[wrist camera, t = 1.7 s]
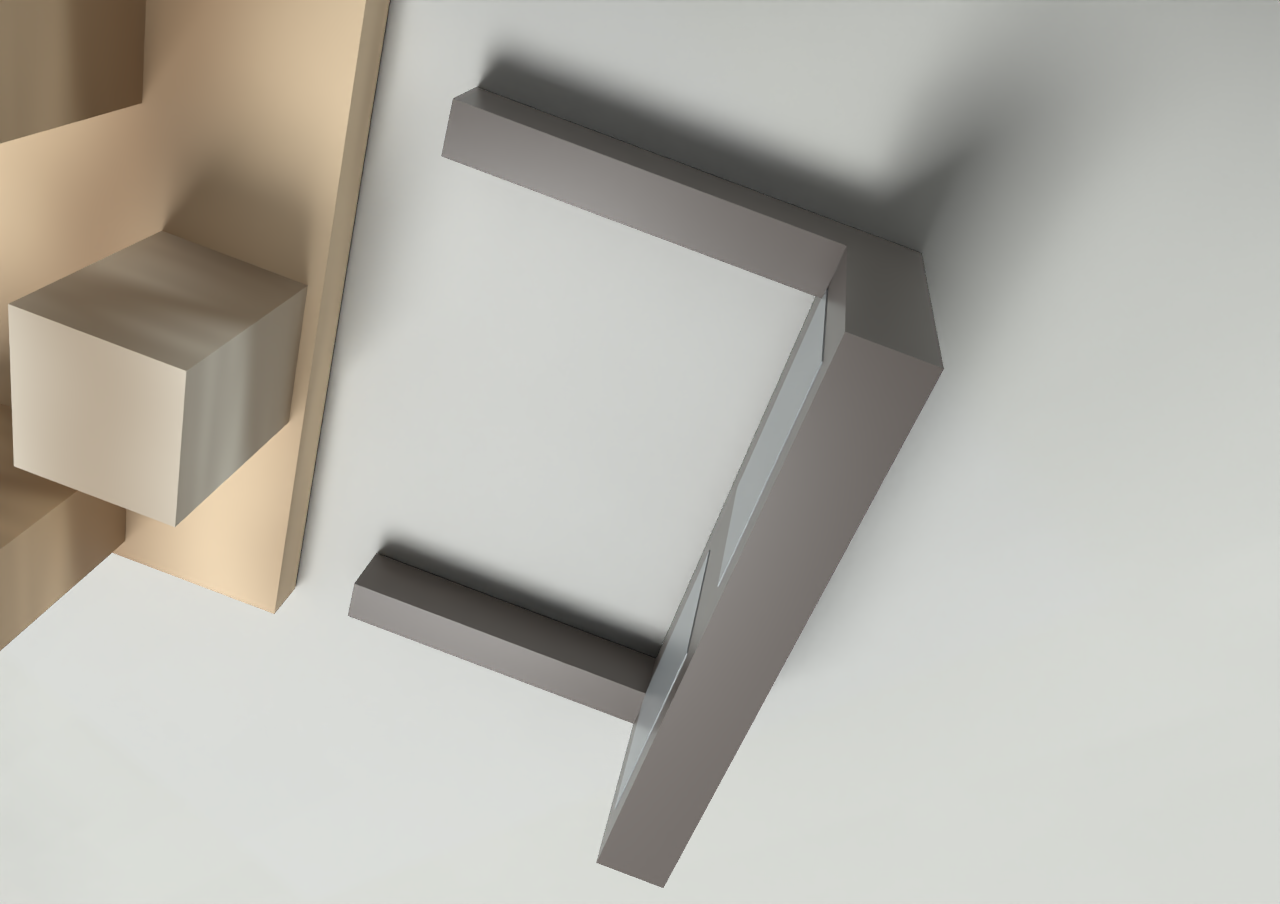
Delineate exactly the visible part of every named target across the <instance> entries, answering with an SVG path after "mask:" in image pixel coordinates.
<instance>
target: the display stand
mask: <svg viewBox="0 0 1280 904" xmlns="http://www.w3.org/2000/svg"><path fill="white" fill-rule="evenodd" d="M389 2H390V0H0V651H1V650H2V649H3V648H4V647H5V646H6V645H7V644H9V643H10V642H11V641H12V640H13V639H14V638H15V637H17V636H18V635H19V634H20V633H21V632H22V631H23V630H24V629H26V628H27V627H28V626H29V625H30V624H31V623H32V622H34V621H35V620H36V619H37V618H38V617H39V616H40V615H42V614H43V613H44V612H45V611H46V610H47V609H48V608H50V607H51V606H52V605H53V604H54V603H55V602H56V601H58V600H59V599H60V598H61V597H62V596H63V595H64V594H65V593H67V592H68V591H69V590H70V589H71V588H72V587H73V586H75V585H76V584H77V583H78V582H79V581H80V580H81V579H83V578H84V577H85V576H86V575H87V574H88V573H89V572H91V571H92V570H93V569H94V568H95V567H96V566H97V565H99V564H100V563H101V562H102V561H103V560H104V559H105V558H106V557H108V556H109V555H110V554H111V553H115V554H118V555H120V556H123V557H125V558H128V559H131V560H133V561H136V562H139V563H141V564H144V565H147V566H149V567H152V568H154V569H157V570H160V571H162V572H165V573H168V574H170V575H173V576H176V577H178V578H181V579H184V580H186V581H189V582H191V583H194V584H197V585H199V586H202V587H205V588H207V589H210V590H213V591H215V592H218V593H221V594H223V595H226V596H228V597H231V598H234V599H236V600H239V601H242V602H244V603H247V604H250V605H252V606H255V607H257V608H260V609H263V610H265V611H268V612H271V613H273V614H275V612H276V611H277V610H278V609H279V607H280V606H281V605H282V604H283V603H284V601H285V600H286V599H287V598H288V596H289V595H290V594H291V593H292V591H293V590H294V589H295V585H296V579H297V572H298V566H299V560H300V554H301V548H302V542H303V535H304V529H305V523H306V517H307V511H308V504H309V498H310V492H311V486H312V480H313V473H314V467H315V461H316V455H317V449H318V442H319V436H320V430H321V424H322V418H323V411H324V405H325V399H326V393H327V387H328V380H329V374H330V368H331V362H332V356H333V349H334V343H335V337H336V331H337V325H338V318H339V312H340V306H341V300H342V294H343V287H344V281H345V275H346V269H347V263H348V257H349V250H350V244H351V238H352V232H353V226H354V219H355V213H356V207H357V201H358V195H359V188H360V182H361V176H362V170H363V164H364V157H365V151H366V145H367V139H368V133H369V126H370V120H371V114H372V108H373V102H374V95H375V89H376V83H377V77H378V71H379V64H380V58H381V52H382V46H383V40H384V33H385V27H386V21H387V15H388V9H389Z"/></svg>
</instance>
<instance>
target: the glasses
mask: <svg viewBox="0 0 1280 904" xmlns="http://www.w3.org/2000/svg"><path fill="white" fill-rule="evenodd" d="M441 156H442V157H445V158H448V159H450V160H453V161H456V162H458V163H461V164H464V165H466V166H469V167H472V168H474V169H477V170H480V171H483V172H485V173H488V174H491V175H493V176H496V177H499V178H501V179H504V180H507V181H509V182H512V183H515V184H517V185H520V186H523V187H525V188H528V189H531V190H533V191H536V192H539V193H541V194H544V195H547V196H549V197H552V198H555V199H557V200H560V201H563V202H565V203H568V204H571V205H573V206H576V207H579V208H581V209H584V210H587V211H589V212H592V213H595V214H597V215H600V216H603V217H605V218H608V219H611V220H613V221H616V222H619V223H621V224H624V225H627V226H629V227H632V228H635V229H637V230H640V231H643V232H645V233H648V234H651V235H653V236H656V237H659V238H661V239H664V240H667V241H669V242H672V243H675V244H677V245H680V246H683V247H685V248H688V249H691V250H693V251H696V252H699V253H701V254H704V255H707V256H710V257H712V258H715V259H718V260H720V261H723V262H726V263H728V264H731V265H734V266H736V267H739V268H742V269H744V270H747V271H750V272H752V273H755V274H758V275H760V276H763V277H766V278H768V279H771V280H774V281H776V282H779V283H782V284H784V285H787V286H790V287H792V288H795V289H798V290H800V291H803V292H806V293H808V294H811V295H814V296H816V297H815V300H814V302H813V304H812V306H811V309H810V311H809V313H808V315H807V318H806V320H805V322H804V325H803V327H802V329H801V331H800V334H799V336H798V338H797V340H796V343H795V345H794V347H793V349H792V352H791V354H790V356H789V358H788V361H787V363H786V365H785V368H784V370H783V372H782V374H781V377H780V379H779V381H778V383H777V386H776V388H775V390H774V392H773V395H772V397H771V399H770V402H769V404H768V406H767V408H766V411H765V413H764V415H763V417H762V420H761V422H760V424H759V426H758V429H757V431H756V433H755V436H754V438H753V440H752V442H751V445H750V447H749V449H748V451H747V454H746V456H745V458H744V460H743V463H742V465H741V467H740V469H739V472H738V474H737V476H736V479H735V481H734V483H733V485H732V488H731V490H730V492H729V494H728V497H727V499H726V501H725V503H724V506H723V508H722V510H721V513H720V515H719V517H718V519H717V522H716V524H715V526H714V528H713V531H712V533H711V535H710V537H709V540H708V542H707V544H706V547H705V549H704V551H703V553H702V556H701V558H700V560H699V562H698V565H697V567H696V569H695V571H694V574H693V576H692V578H691V580H690V583H689V585H688V587H687V590H686V592H685V594H684V596H683V599H682V601H681V603H680V605H679V608H678V610H677V612H676V614H675V617H674V619H673V621H672V624H671V626H670V628H669V630H668V633H667V635H666V637H665V639H664V642H663V644H662V646H661V648H660V651H659V653H658V655H657V657H656V658H653V657H650V656H648V655H645V654H642V653H640V652H637V651H634V650H632V649H629V648H627V647H624V646H621V645H619V644H616V643H613V642H611V641H608V640H605V639H603V638H600V637H597V636H595V635H592V634H589V633H587V632H584V631H581V630H579V629H576V628H574V627H571V626H568V625H566V624H563V623H560V622H558V621H555V620H552V619H550V618H547V617H544V616H542V615H539V614H536V613H534V612H531V611H528V610H526V609H523V608H520V607H518V606H515V605H513V604H510V603H507V602H505V601H502V600H499V599H497V598H494V597H491V596H489V595H486V594H483V593H481V592H478V591H475V590H473V589H470V588H467V587H465V586H462V585H460V584H457V583H454V582H452V581H449V580H446V579H444V578H441V577H438V576H436V575H433V574H430V573H428V572H425V571H422V570H420V569H417V568H414V567H412V566H409V565H407V564H404V563H401V562H399V561H396V560H393V559H391V558H388V557H385V556H383V555H380V554H377V553H376V555H375V556H374V558H373V559H372V560H371V562H370V563H369V564H368V566H367V567H366V568H365V570H364V571H363V573H362V574H361V575H360V577H359V578H358V579H357V581H356V582H355V584H354V588H353V593H352V598H351V603H350V608H349V613H348V616H350V617H353V618H355V619H358V620H361V621H363V622H366V623H369V624H371V625H374V626H376V627H379V628H382V629H384V630H387V631H390V632H392V633H395V634H398V635H400V636H403V637H406V638H408V639H411V640H414V641H416V642H419V643H422V644H424V645H427V646H429V647H432V648H435V649H437V650H440V651H443V652H445V653H448V654H451V655H453V656H456V657H459V658H461V659H464V660H467V661H469V662H472V663H474V664H477V665H480V666H482V667H485V668H488V669H490V670H493V671H496V672H498V673H501V674H504V675H506V676H509V677H512V678H514V679H517V680H519V681H522V682H525V683H527V684H530V685H533V686H535V687H538V688H541V689H543V690H546V691H549V692H551V693H554V694H557V695H559V696H562V697H564V698H567V699H570V700H572V701H575V702H578V703H580V704H583V705H586V706H588V707H591V708H594V709H596V710H599V711H602V712H604V713H607V714H609V715H612V716H615V717H617V718H620V719H623V720H625V721H628V722H631V723H633V728H632V731H631V735H630V739H629V743H628V746H627V750H626V754H625V757H624V761H623V765H622V769H621V772H620V776H619V780H618V784H617V787H616V791H615V795H614V799H613V802H612V806H611V810H610V814H609V817H608V821H607V825H606V829H605V832H604V836H603V840H602V843H601V847H600V851H599V855H598V858H597V862H596V863H599V864H601V865H604V866H607V867H609V868H612V869H615V870H617V871H620V872H622V873H625V874H628V875H630V876H633V877H636V878H638V879H641V880H644V881H646V882H649V883H652V884H654V885H657V886H659V887H662V888H664V886H665V884H666V882H667V880H668V878H669V876H670V875H671V873H672V871H673V869H674V867H675V865H676V864H677V862H678V860H679V858H680V856H681V854H682V852H683V851H684V849H685V847H686V845H687V843H688V841H689V839H690V838H691V836H692V834H693V832H694V830H695V828H696V826H697V825H698V823H699V821H700V819H701V817H702V815H703V814H704V812H705V810H706V808H707V806H708V804H709V802H710V801H711V799H712V797H713V795H714V793H715V791H716V789H717V788H718V786H719V784H720V782H721V780H722V778H723V776H724V775H725V773H726V771H727V769H728V767H729V765H730V764H731V762H732V760H733V758H734V756H735V754H736V752H737V751H738V749H739V747H740V745H741V743H742V741H743V739H744V738H745V736H746V734H747V732H748V730H749V728H750V726H751V725H752V723H753V721H754V719H755V717H756V715H757V714H758V712H759V710H760V708H761V706H762V704H763V702H764V701H765V699H766V697H767V695H768V693H769V691H770V689H771V688H772V686H773V684H774V682H775V680H776V678H777V676H778V675H779V673H780V671H781V669H782V667H783V665H784V664H785V662H786V660H787V658H788V656H789V654H790V652H791V651H792V649H793V647H794V645H795V643H796V641H797V639H798V638H799V636H800V634H801V632H802V630H803V628H804V626H805V625H806V623H807V621H808V619H809V617H810V615H811V614H812V612H813V610H814V608H815V606H816V604H817V602H818V601H819V599H820V597H821V595H822V593H823V591H824V589H825V588H826V586H827V584H828V582H829V580H830V578H831V576H832V575H833V573H834V571H835V569H836V567H837V565H838V564H839V562H840V560H841V558H842V556H843V554H844V552H845V551H846V549H847V547H848V545H849V543H850V541H851V539H852V538H853V536H854V534H855V532H856V530H857V528H858V526H859V525H860V523H861V521H862V519H863V517H864V515H865V514H866V512H867V510H868V508H869V506H870V504H871V502H872V501H873V499H874V497H875V495H876V493H877V491H878V489H879V488H880V486H881V484H882V482H883V480H884V478H885V476H886V475H887V473H888V471H889V469H890V467H891V465H892V464H893V462H894V460H895V458H896V456H897V454H898V452H899V451H900V449H901V447H902V445H903V443H904V441H905V439H906V438H907V436H908V434H909V432H910V430H911V428H912V426H913V425H914V423H915V421H916V419H917V417H918V415H919V413H920V412H921V410H922V408H923V406H924V404H925V402H926V401H927V399H928V397H929V395H930V393H931V391H932V389H933V388H934V386H935V384H936V382H937V380H938V378H939V376H940V375H941V373H942V371H943V369H944V367H943V362H942V357H941V352H940V347H939V341H938V336H937V331H936V326H935V321H934V315H933V310H932V305H931V300H930V295H929V289H928V284H927V279H926V274H925V269H924V263H923V258H922V253H920V252H917V251H914V250H912V249H909V248H906V247H904V246H901V245H898V244H896V243H893V242H890V241H888V240H885V239H882V238H879V237H877V236H874V235H871V234H869V233H866V232H863V231H861V230H858V229H855V228H853V227H850V226H847V225H845V224H842V223H839V222H837V221H834V220H831V219H829V218H826V217H823V216H821V215H818V214H815V213H813V212H810V211H807V210H805V209H802V208H799V207H797V206H794V205H791V204H789V203H786V202H783V201H781V200H778V199H775V198H772V197H770V196H767V195H764V194H762V193H759V192H756V191H754V190H751V189H748V188H746V187H743V186H740V185H738V184H735V183H732V182H730V181H727V180H724V179H722V178H719V177H716V176H714V175H711V174H708V173H706V172H703V171H700V170H698V169H695V168H692V167H690V166H687V165H684V164H682V163H679V162H676V161H674V160H671V159H668V158H666V157H663V156H660V155H657V154H655V153H652V152H649V151H647V150H644V149H641V148H639V147H636V146H633V145H631V144H628V143H625V142H623V141H620V140H617V139H615V138H612V137H609V136H607V135H604V134H601V133H599V132H596V131H593V130H591V129H588V128H585V127H583V126H580V125H577V124H575V123H572V122H569V121H567V120H564V119H561V118H559V117H556V116H553V115H551V114H548V113H545V112H542V111H540V110H537V109H534V108H532V107H529V106H526V105H524V104H521V103H518V102H516V101H513V100H510V99H508V98H505V97H502V96H500V95H497V94H494V93H492V92H489V91H486V90H484V89H481V88H478V87H475V88H473V89H471V90H469V91H467V92H465V93H463V94H461V95H459V96H457V97H455V98H453V101H452V106H451V111H450V116H449V121H448V126H447V131H446V136H445V141H444V146H443V151H442V155H441Z"/></svg>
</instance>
